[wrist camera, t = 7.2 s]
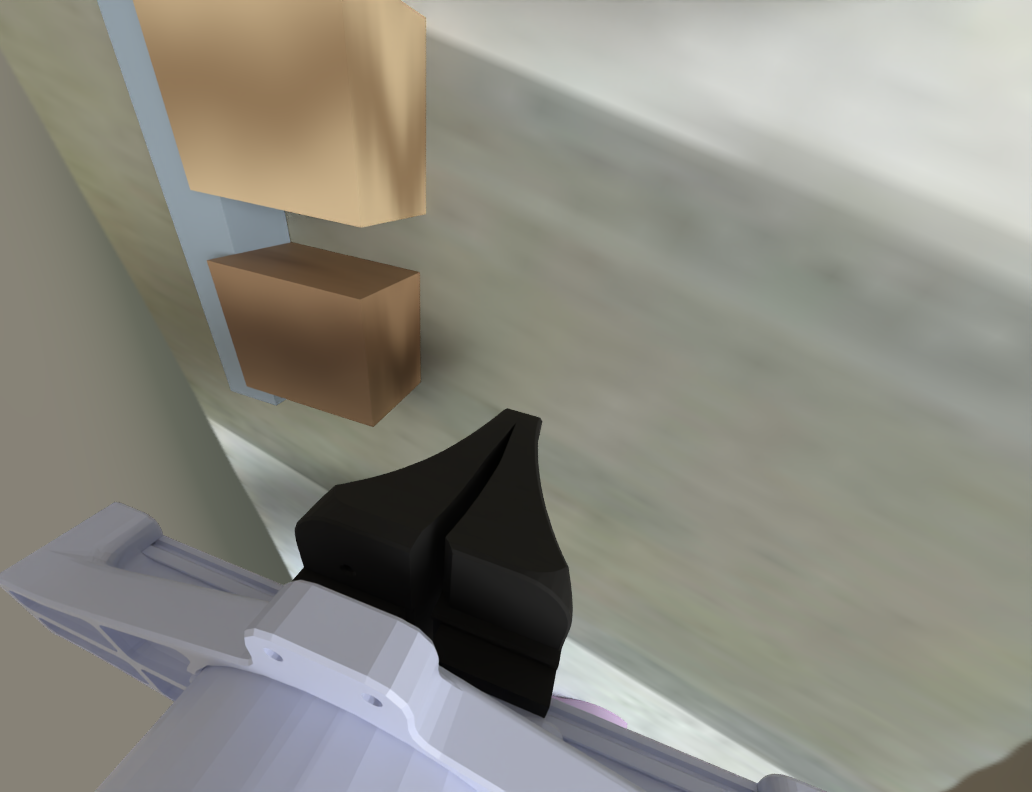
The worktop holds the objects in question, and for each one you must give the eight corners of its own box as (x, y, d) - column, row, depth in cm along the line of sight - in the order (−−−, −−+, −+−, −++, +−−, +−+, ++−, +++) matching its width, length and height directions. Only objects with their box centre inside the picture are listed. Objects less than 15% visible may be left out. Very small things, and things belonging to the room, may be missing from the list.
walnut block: (422, 380, 21) (373, 427, 17) (314, 349, 22) (246, 386, 18) (421, 271, 17) (360, 299, 14) (294, 241, 19) (206, 260, 15)
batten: (316, 379, 23) (276, 405, 20) (275, 367, 23) (231, 390, 21) (232, -64, 13) (134, -118, 10) (164, -69, 13) (55, -122, 11)
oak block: (427, 213, 16) (361, 227, 12) (288, 185, 17) (190, 189, 13) (428, 19, 13) (338, -42, 9) (256, 0, 14) (114, -60, 10)
